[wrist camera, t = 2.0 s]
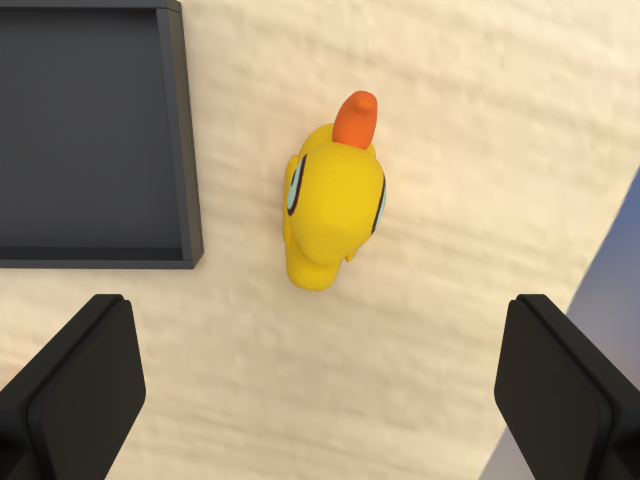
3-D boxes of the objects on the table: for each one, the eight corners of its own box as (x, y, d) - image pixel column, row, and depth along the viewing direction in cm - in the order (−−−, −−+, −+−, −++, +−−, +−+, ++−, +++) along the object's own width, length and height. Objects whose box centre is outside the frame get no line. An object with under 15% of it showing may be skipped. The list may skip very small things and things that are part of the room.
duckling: (308, 73, 27) (302, 75, 17) (396, 96, 27) (435, 111, 18) (269, 247, 31) (247, 325, 21) (346, 265, 31) (357, 349, 22)
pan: (204, 253, 31) (193, 269, 28) (-79, 251, 31) (-115, 267, 28) (181, 2, 25) (165, -5, 23) (-162, 0, 25) (-215, -8, 23)
